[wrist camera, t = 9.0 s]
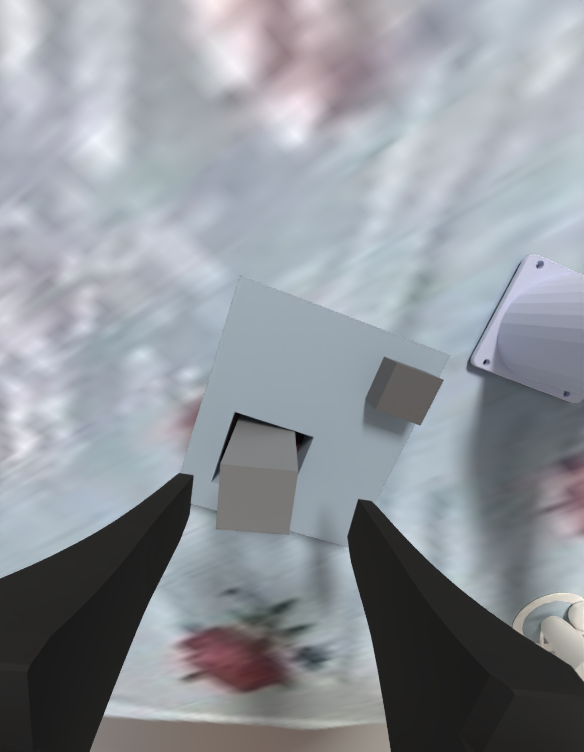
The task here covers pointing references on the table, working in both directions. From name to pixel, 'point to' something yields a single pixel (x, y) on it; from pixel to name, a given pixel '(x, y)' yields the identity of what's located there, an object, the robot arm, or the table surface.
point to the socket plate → (313, 401)
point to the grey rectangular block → (258, 478)
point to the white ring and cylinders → (560, 629)
